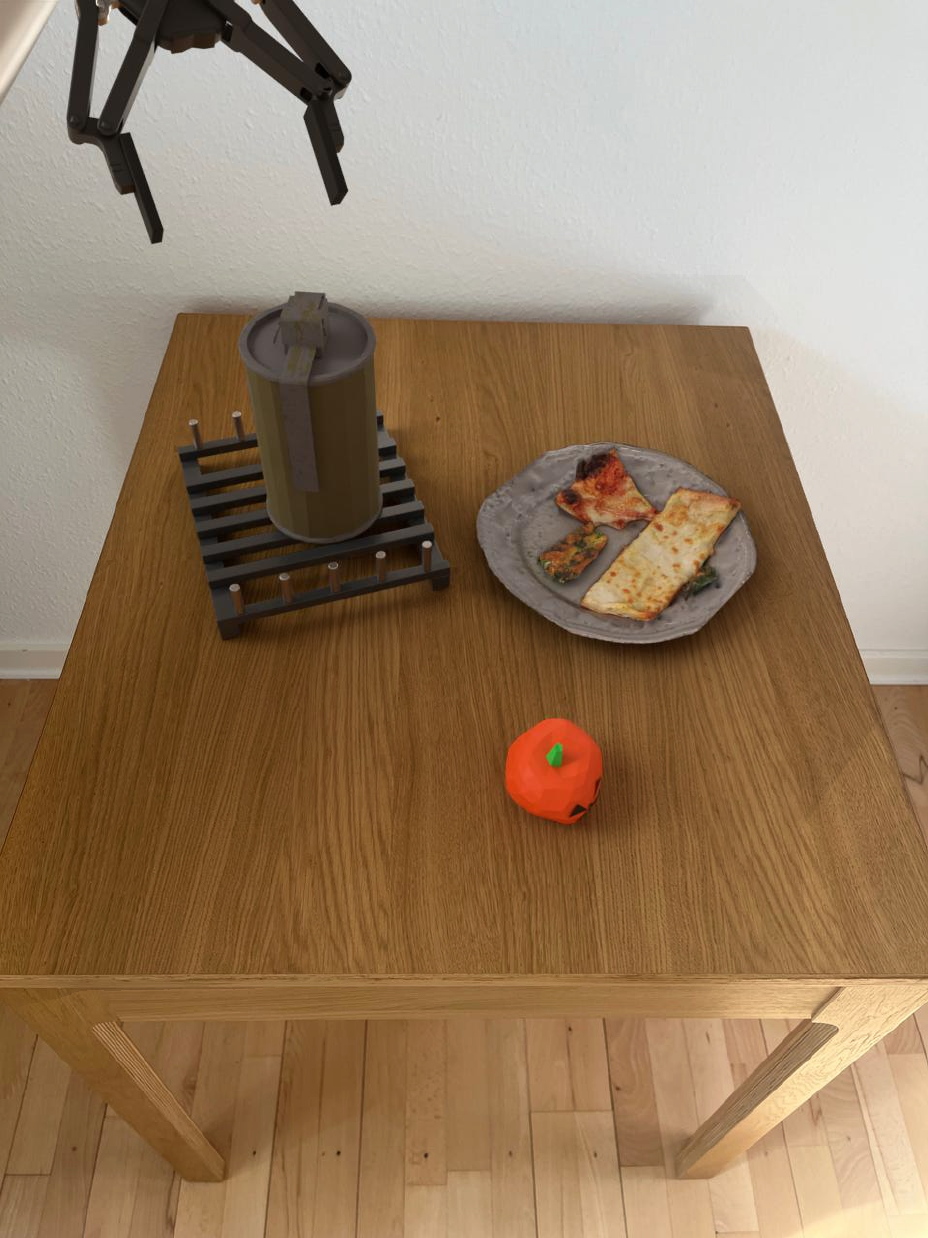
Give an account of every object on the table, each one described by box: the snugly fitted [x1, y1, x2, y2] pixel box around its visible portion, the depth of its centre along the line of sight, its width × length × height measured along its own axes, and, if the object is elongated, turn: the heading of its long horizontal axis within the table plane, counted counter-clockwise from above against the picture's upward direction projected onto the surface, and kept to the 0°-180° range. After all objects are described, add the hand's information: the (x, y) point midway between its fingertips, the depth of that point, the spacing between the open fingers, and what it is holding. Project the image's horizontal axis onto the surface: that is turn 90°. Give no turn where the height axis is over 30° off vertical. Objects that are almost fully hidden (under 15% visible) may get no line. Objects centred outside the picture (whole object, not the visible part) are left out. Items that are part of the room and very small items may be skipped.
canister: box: [237, 290, 384, 545], centre depth 77 cm, size 11×10×20 cm
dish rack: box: [176, 409, 451, 641], centre depth 85 cm, size 20×22×6 cm
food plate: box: [475, 440, 758, 645], centre depth 85 cm, size 25×23×4 cm
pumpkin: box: [505, 717, 603, 825], centre depth 68 cm, size 7×8×6 cm
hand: (251, 217), depth 68 cm, fingers open, 13 cm apart
